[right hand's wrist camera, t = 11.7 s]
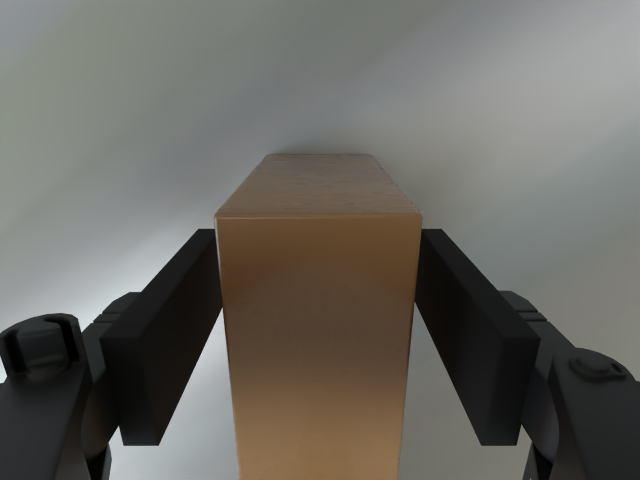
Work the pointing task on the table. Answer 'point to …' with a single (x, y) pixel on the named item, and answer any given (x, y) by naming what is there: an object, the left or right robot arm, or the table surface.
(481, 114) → the table surface
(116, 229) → the table surface
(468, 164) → the table surface
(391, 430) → the beam
